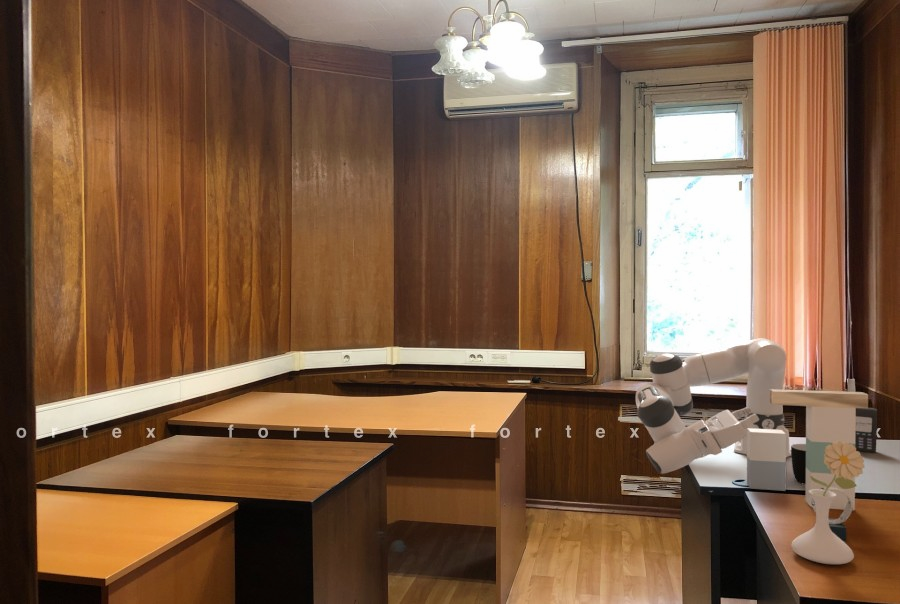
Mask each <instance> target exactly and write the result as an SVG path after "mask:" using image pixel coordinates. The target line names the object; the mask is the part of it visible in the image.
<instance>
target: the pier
mask: <svg viewBox="0 0 900 604" xmlns="http://www.w3.org/2000/svg"><path fill="white" fill-rule="evenodd" d="M786 458H787V457H786V433H785V432H783V431H782V430H775V429H753V428H747V455H746V485H747V486H748V485H749V486H748V487H749V489H754V490H764V491H765V490H769V491H783V492H786V487H787V486H786V482H787V481H786V480H787V479H786V476H787V475H786V467H787V466H786V465H787V464H786V463H787V462H786V461H787V459H786Z"/></svg>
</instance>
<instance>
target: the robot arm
mask: <svg viewBox="0 0 900 604" xmlns="http://www.w3.org/2000/svg"><path fill="white" fill-rule="evenodd" d="M786 365H787V354H786V351H785V349H784V348H783V346H782V345H780V344H779V343H778V342H775V341H773V340H771V339H768V338H765V337H758V338H755V339H750V340H747V341H742V342H739V343H735V344H733V345H730V346H725V347H722V348H718V349H713V350H708V351H704V352H701V353H696V354H693V355H689V356H686V357H685V358H682V357H680V356H679V355H677V354H675V353H670V352H669V353H662V354H659V355H656V356H654V357H653V358H652V359H651V360H650V362H649V371H650V373H651V376H652V377H651V378H652V382H650V381H649V382H645V383H643V384H641V385H640V386H639V387H638V388H637V390H636V392H635V404H636V407H637V411H636V412H637V417H638V419H639V420H640V421H641V423H642V424H643V425H644V427H645V428H646V429H647V432H648V433H649V435H650V437H651V438H652V440H653V442H654V443H653V445H651V446H650V447H648V448H647V449H646V450H645V453H646V456H647V459H648V461H649V462H650V463H651V465H652V466H653V468H654V469H655V470H656V472H658V473H659V474H662V475H663V474H667V473H670V472H671V473H672V472H673V471H677V470H680V469H681V468H684V467H686V466H688V465H690V464H691V463H692V462H694V461H695V460H697V459H701V458H705V457H707V456H710V455H714V456H717V455H719V454H721V453H722V452H723V449H727V448H729V447H730V446H732V445H734V447H733V452H734V453H736V454H737V453H738V454H743V455H746V456H747V428H753V429H775V430H782V431H783V432H785V433H786V458H787V457H788V458H789V457H791V447H790V432H789V430H788V428H787V427H785V425H784V424H785V414H784V413H783V411H784V410H783V406H784V405H772V404H771V403H770V389H775V390H784V384H785V375H786ZM746 375H747V376H748V377H747V384H746V407H744V408H741V409H738V410H734V411H732V412H731V411H730V410H729V409H725V410H722V411H721V412H717V414H715V415H713V416H711V417H709V418H707V419H706V420H705V421H704V420H703V419H700V420H697V421H696V422H693V423H691V424H690V425H687V426H686V425H685V423H684V422H683V420H682V419H681V417H682V416H683V417H684V416H686V415H687V414H689V413H690V412H691V411H692V410H693V408H694V400H693V397H692V392H691V388H692V387H701V386H707V385H712V384H717V383H723V382H726V381H731V380H735V379H737V378H739V377H743V376H746ZM690 387H691V388H690ZM743 417H744V419H741V418H743ZM740 419H741V420H740Z"/></svg>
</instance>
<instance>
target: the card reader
mask: <svg viewBox="0 0 900 604" xmlns="http://www.w3.org/2000/svg"><path fill="white" fill-rule="evenodd" d="M877 422H878V409H877V408H874V407H868V408H856V425H855V448H856V451H858V452H861V453H862V452H863V453H872V454H873V453H877V438H878V436H877V435H878V430H877V429H878V427H877V426H878V424H877Z"/></svg>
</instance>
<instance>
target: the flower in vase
mask: <svg viewBox="0 0 900 604" xmlns="http://www.w3.org/2000/svg"><path fill="white" fill-rule="evenodd" d="M825 452H826V454H824V457H825V458H824V459H825V461H824V463H825V464H826V465H827V467H828V469H831V473H832V474H835V476H834V478H833V480H832V481H831V483H830V484H829V485H827V484H826V483H824V482H821V481H819V480H817V479H815V478H813V477H812V476H811V479H812V480H813V481H814V482H816V483H819V484H821V485H823V486H826V487H827V488H826V490H821V489H812V490H809V493H810V494H811V496H812V497H813V500H814V502H815V507H816V513H815V525H814V526H813V527H812V528H811V529H809V530H807V531H806V532H803V533H801V534H800V535H798V536H796V537H795V538H793V540H792V542H791V547H790V548H792V550H793V551H794V552H795V554H797V555H799V556H800V557H802V558H804V559H807V560H809V561H812V562H814V563H815V562H816V563H818V564H819V563H820V564H825V565H843V564H845V565H846V564H848V563H850V562H851V561H852V560H853V559H854V558H855V554H854V552H853V550H852V549H851V547H849V545H848V544H847V543H846V542H845V541H842V540H841V539H840V538H839V537H837V536H836V535H835V534H834V533H833V532H832V531H831V530H830V527H829V523H828V518H829V515H830V514H829V513H830V509H829V508H830V504H831V502H832V500H833V499H834V498H835V497H836V494H835V493H833V492H831V491H827V490H828V489H829V487H830V486H831V484H832V483H833V482H834V480H835V482H836V483H837V485H839V486H840V487H841V488H843V489H849V488H853V487H855V488H856V487H857V486H858V485H857V484H856V482H855V483H854V482H853V481H852V480H851V479H853V478H854V476H855V478H857V477H859V476H860V475H863V473H864V471H863V469H864V468H865V464H864V462H865V460H864V457H863V456H862V455H861V453H860V452H861V451H856V448H855V447H854V446H853V445H851V444H850V445H849V444H848V443H847V442H844V443H843V442H841V441H839V440H838V441H837V442H833V443H832V446H831V445H828V446H826V449H825ZM836 475H837V476H839V477H838V478H836ZM853 475H854V476H853ZM835 478H836V479H835Z"/></svg>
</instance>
